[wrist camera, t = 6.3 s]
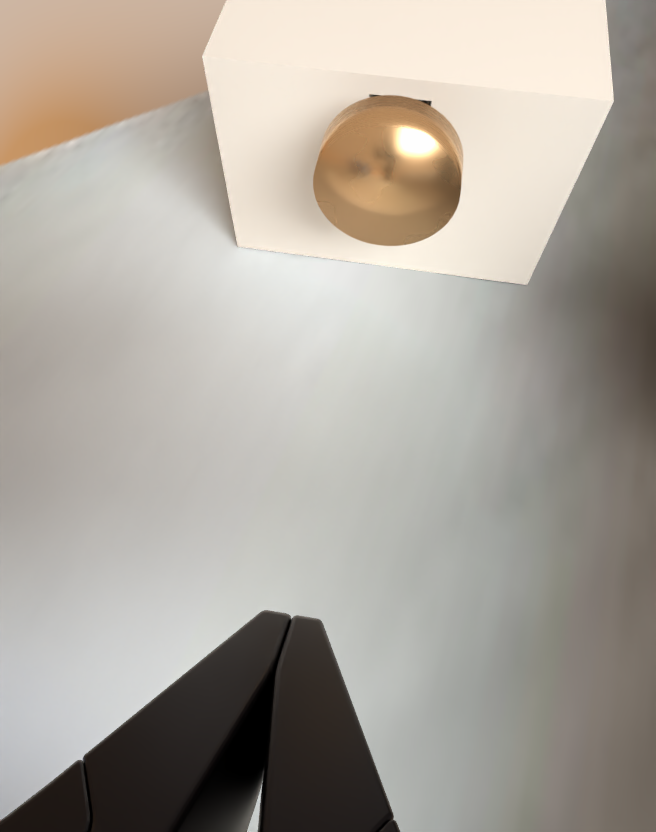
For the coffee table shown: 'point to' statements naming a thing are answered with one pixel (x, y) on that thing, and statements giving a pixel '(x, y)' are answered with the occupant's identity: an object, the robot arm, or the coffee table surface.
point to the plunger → (389, 171)
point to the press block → (419, 79)
